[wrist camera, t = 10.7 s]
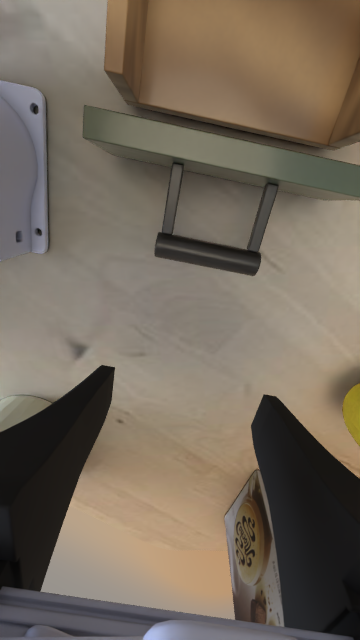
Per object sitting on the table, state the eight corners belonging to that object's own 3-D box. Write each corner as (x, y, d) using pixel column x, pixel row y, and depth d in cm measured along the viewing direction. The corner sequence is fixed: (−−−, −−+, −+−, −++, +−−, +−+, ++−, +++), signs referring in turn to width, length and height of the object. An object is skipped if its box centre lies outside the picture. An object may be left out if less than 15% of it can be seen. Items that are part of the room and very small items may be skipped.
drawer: (296, 275, 18) (328, 299, 14) (106, 237, 18) (79, 249, 14) (461, -153, 11) (640, -388, 7) (140, -241, 10) (102, -562, 6)
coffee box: (271, 528, 32) (338, 801, 18) (222, 515, 32) (248, 788, 17) (309, 482, 29) (433, 780, 14) (254, 467, 28) (323, 762, 13)
